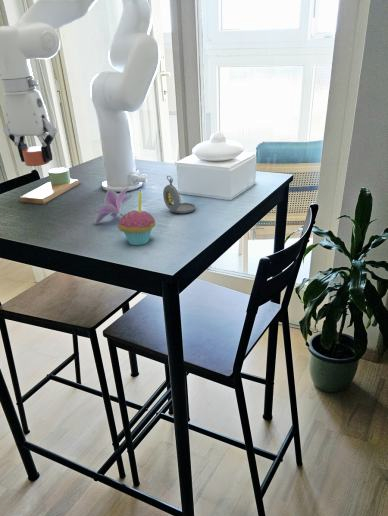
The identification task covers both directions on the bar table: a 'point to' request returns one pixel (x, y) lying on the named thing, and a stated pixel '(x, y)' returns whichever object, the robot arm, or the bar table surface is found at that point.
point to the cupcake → (137, 225)
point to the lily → (112, 204)
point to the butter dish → (216, 169)
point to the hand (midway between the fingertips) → (37, 160)
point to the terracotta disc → (33, 156)
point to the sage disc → (59, 176)
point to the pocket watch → (175, 200)
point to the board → (47, 192)
